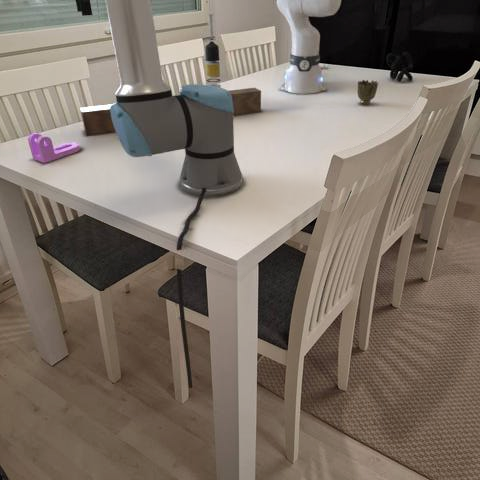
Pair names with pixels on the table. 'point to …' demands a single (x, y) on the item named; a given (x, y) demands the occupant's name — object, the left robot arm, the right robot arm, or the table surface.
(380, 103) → the table surface
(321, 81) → the right robot arm
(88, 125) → the post
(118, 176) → the table surface
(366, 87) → the cup
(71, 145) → the bracket
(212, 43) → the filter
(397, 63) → the squiggle
